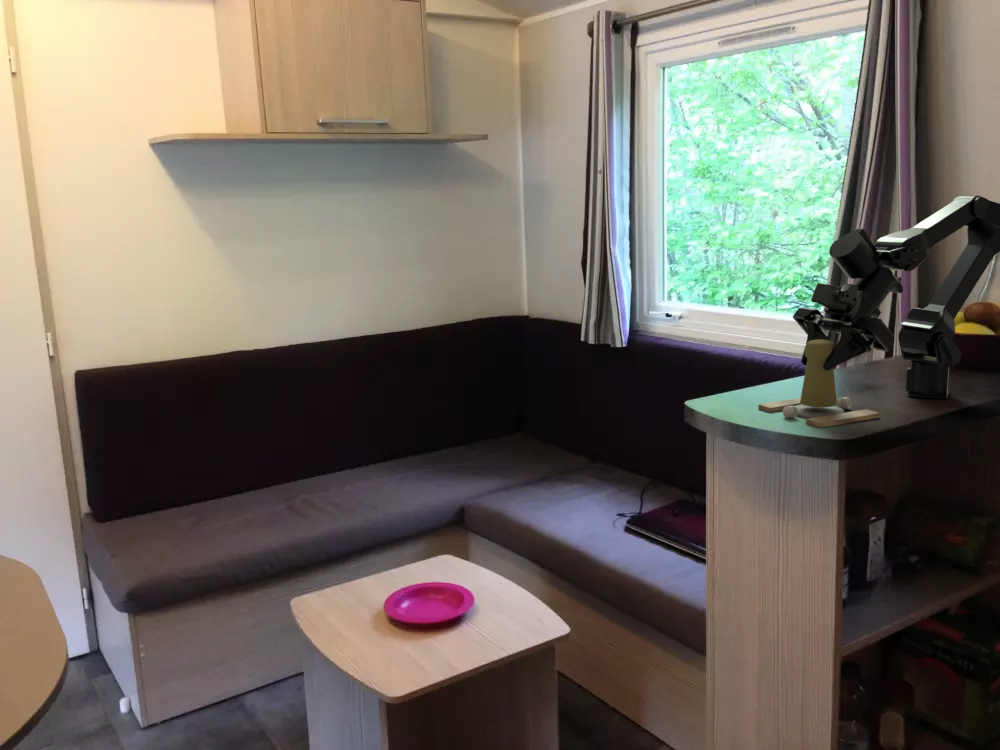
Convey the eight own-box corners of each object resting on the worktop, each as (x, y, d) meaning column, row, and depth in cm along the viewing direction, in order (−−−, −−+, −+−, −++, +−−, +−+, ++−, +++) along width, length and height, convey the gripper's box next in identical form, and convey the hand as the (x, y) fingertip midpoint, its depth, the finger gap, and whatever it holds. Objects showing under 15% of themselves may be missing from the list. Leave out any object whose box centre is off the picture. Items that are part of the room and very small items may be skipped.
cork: (824, 409, 152) (826, 344, 150) (792, 403, 157) (794, 340, 154) (844, 402, 156) (846, 339, 153) (812, 397, 160) (815, 335, 158)
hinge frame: (816, 399, 166) (816, 389, 165) (880, 417, 152) (880, 405, 152) (757, 408, 160) (757, 397, 160) (818, 428, 147) (818, 416, 147)
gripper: (802, 262, 161) (751, 329, 159) (884, 269, 144) (828, 345, 142) (834, 302, 166) (785, 368, 164) (918, 313, 149) (864, 387, 147)
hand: (813, 366), depth 154 cm, fingers closed on cork, 5 cm apart
